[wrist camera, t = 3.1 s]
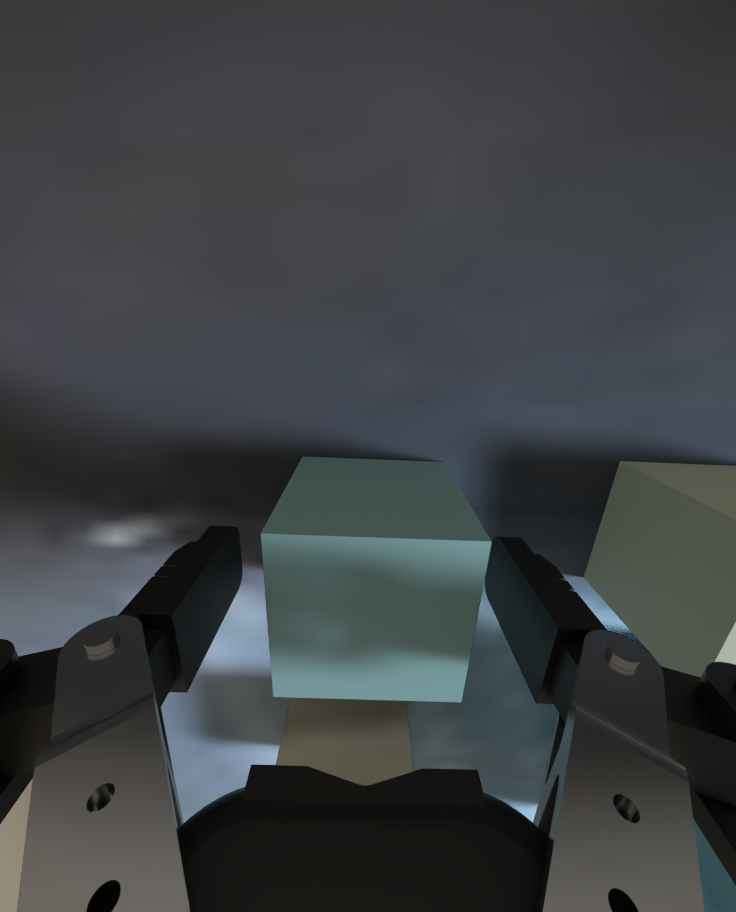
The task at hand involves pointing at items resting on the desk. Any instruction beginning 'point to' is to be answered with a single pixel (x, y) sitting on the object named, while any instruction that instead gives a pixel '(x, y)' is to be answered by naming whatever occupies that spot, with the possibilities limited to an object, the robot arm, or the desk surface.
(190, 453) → the desk surface
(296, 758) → the maple block
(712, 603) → the sage block
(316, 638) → the teal block
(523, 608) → the robot arm
